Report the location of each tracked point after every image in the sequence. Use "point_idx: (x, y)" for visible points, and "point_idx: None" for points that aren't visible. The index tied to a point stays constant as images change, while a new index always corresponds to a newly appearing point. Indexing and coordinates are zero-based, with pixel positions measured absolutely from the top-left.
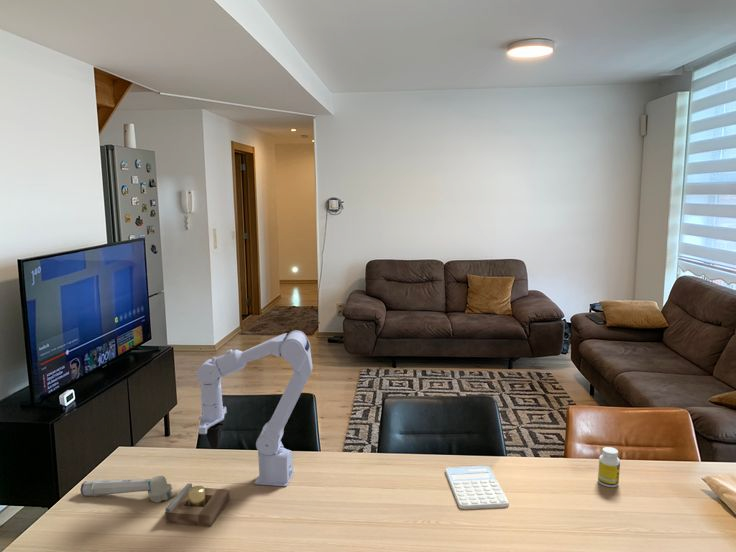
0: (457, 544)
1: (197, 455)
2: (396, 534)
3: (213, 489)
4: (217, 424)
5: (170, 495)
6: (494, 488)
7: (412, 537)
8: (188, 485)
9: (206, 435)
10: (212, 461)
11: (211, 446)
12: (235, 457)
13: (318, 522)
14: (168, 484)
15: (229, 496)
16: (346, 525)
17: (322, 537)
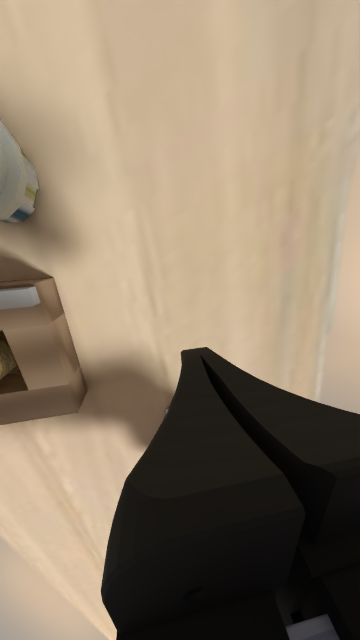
0: (100, 628)
1: (311, 156)
2: (94, 597)
3: (58, 375)
4: (279, 598)
5: (10, 220)
6: None
7: (95, 606)
8: (13, 301)
9: (169, 410)
10: (269, 241)
11: (181, 360)
12: (292, 300)
13: (81, 536)
14: (12, 187)
15: (84, 396)
16: (89, 560)
17: (45, 554)
